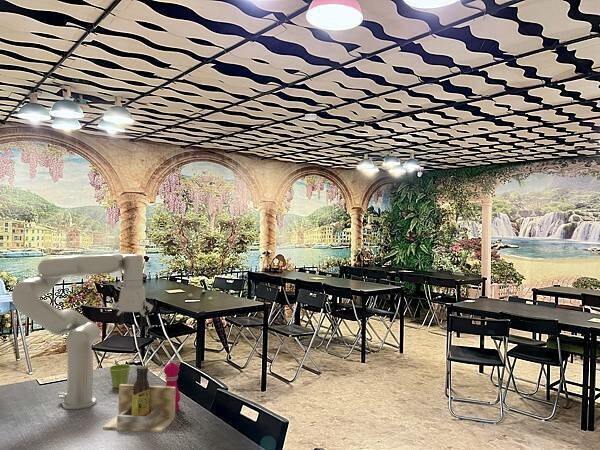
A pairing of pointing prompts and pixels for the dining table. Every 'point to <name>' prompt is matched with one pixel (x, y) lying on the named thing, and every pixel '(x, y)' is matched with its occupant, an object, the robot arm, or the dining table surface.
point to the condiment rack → (158, 410)
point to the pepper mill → (172, 379)
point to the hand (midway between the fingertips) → (132, 325)
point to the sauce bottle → (141, 393)
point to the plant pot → (119, 374)
